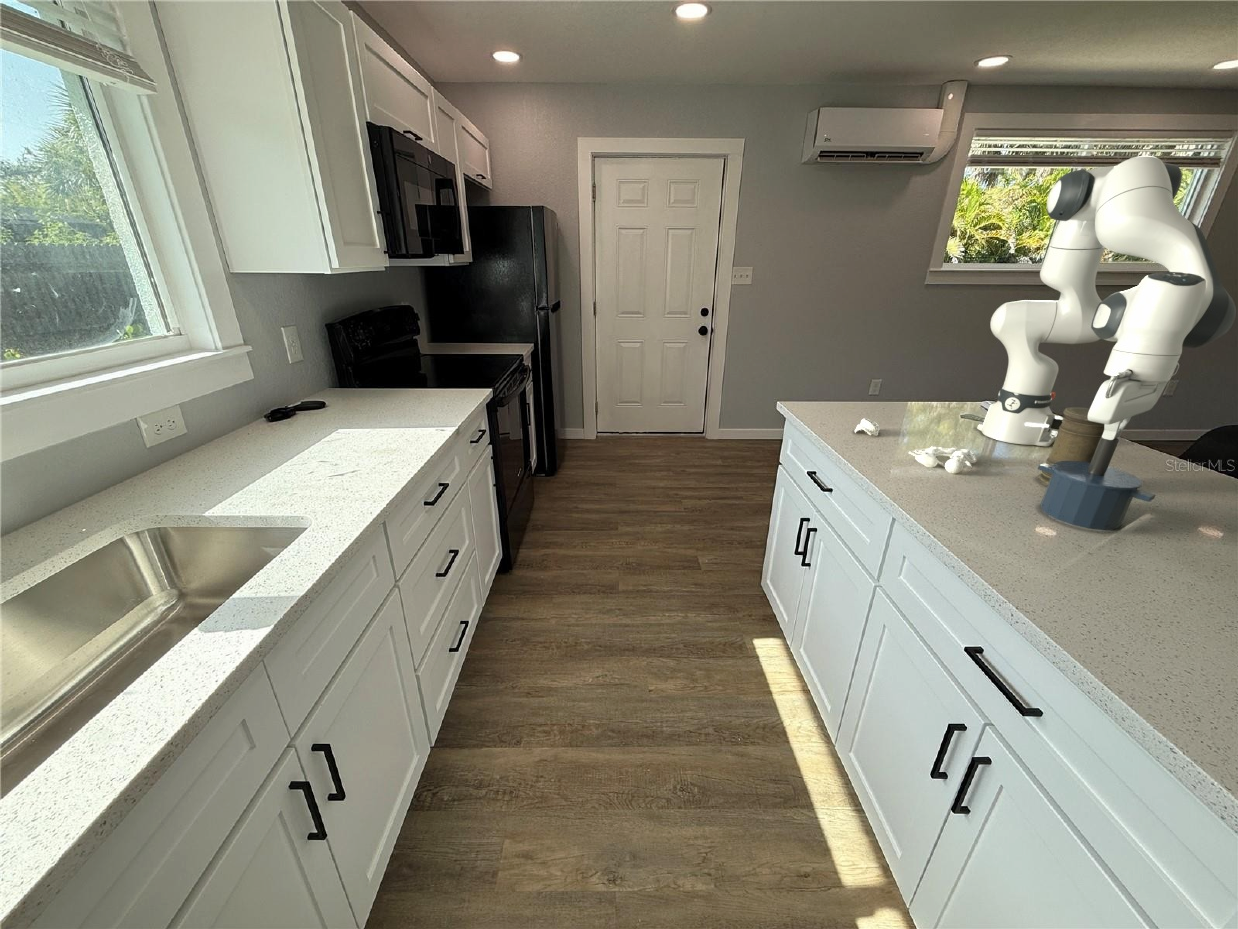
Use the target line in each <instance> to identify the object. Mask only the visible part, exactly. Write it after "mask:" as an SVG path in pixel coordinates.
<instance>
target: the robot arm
mask: <svg viewBox="0 0 1238 929" xmlns="http://www.w3.org/2000/svg"><path fill="white" fill-rule="evenodd" d="M1182 179H1183V173H1182V170H1181V168H1180V166H1178V165H1176V164H1173V163H1165V162H1163V161H1162V160H1161V158H1159V157H1156V156H1153V155H1141V156H1136V157H1131V158H1129V159H1126V160H1124V161H1121V162H1120V163H1118V164H1117V165H1112V166H1111V165H1110V166H1103V167H1097V168H1092V169H1083V168H1082V169H1076V170H1073V171H1070V172H1066V173H1064V174H1063V175H1062V176H1061V177H1059V178H1058V179H1057V180H1056V181H1055V183H1054V185H1053V186H1052V188H1051V190H1050V191H1049V192H1048V195H1047V200H1046V213H1047V215H1048V217H1049V218H1050V219H1051V220H1055V221H1059V222H1058V224H1057V226H1056V228H1055V231H1054V232H1053V235H1052V237H1051V240H1050V243H1049V246H1048V248H1047V251H1046V253H1045V257H1044V261H1043V262H1042V265H1041V268H1040V271H1039V278H1040V280H1041V281H1042V283H1043V284H1045V285H1046V286H1048V287H1050V288H1052V289H1054V290H1055V291H1058V292H1059V293H1060V295H1059V298H1058V300H1057V299H1056V300H1033V299H1032V300H1030V299H1029V300H1028V299H1024V300H1017V301H1010V302H1009V301H1008V302H1005V303H1003V304H1001V305H1000V306H999V307H998V308H996V310H995V311H994V312H993V314H992V316H991V318H990V326H989V327H990V330H991V333H992V335H993V336H994V337H995V338H996V339H998V340H999V341H1000V342H1001V343H1002V345H1003V346H1004V349H1005V351H1006V353H1007V356H1008V358H1007V359H1008V363H1007V364H1008V365H1007V370H1006V375H1005V379H1004V382H1003V385H1002V387H1000V389H999V391H998V395H997V398H996V399H997V401H995V402H993V403H991V404H990V405H989V407H988V410H987V413H986V415H985V418H984V421H983V423H982V424H978V425H977V426H976V429H977V430H978V431H980V432H981V433H982V434H983V435H984V436H986V437H988V438H990V439H993V440H997V441H1000V442H1004V443H1008V444H1009V443H1010V444H1016V445H1023V446H1024V445H1027V446H1039V447H1050V446H1052V444H1054V442H1055V439H1056V436H1057V434H1058V431H1059V429H1060V428H1059V427H1060V426H1061V424H1062V422H1063V416H1061V415H1055V414H1054V412H1053V411H1052V409H1051V408H1050V406H1051V405H1052V404H1051V402H1052V401H1053V400H1054V399H1055V397H1056V395H1057V394H1056V392H1053V388H1054V385H1055V383H1056V379H1057V376H1058V374H1059V365H1058V363H1057V362H1056V361H1055V360H1054V359H1053V358H1051V357H1049V356H1048V355H1046V354H1044V353H1042V352H1040V351H1039V345H1040V344H1042V343H1047V344H1061V345H1063V344H1064V345H1079V344H1088V343H1096V342H1097V341H1100V340H1105V341H1108V342H1114V343H1115V342H1116V343H1115V345H1113V347H1112V349H1111V352H1110V354H1109V357H1108V360H1107V362H1106V365H1105V368H1104V370H1103V374H1105V375H1106V376H1109V377H1110V378H1109V379H1107V380H1104V382H1102V383H1101V385H1100V386H1099V388H1098V390H1097V391H1096V394H1095V396H1094V398H1093V401H1092V402H1091V405H1090V407H1089V409H1090V410H1089V412H1088V420H1089V421H1093V422H1097V423H1102V424H1104V429H1105V430H1104V432H1103V435H1102V438H1104V439H1108V440H1113V439H1115V438H1117V439H1119V438H1120V437H1121V435H1122V433H1123V430H1124V429H1125V428H1126V427H1127V425H1128V424H1129V422H1130V421H1131V419H1132V417H1134V416H1137V415H1140V414H1143V413H1145V412H1149V411H1150V410H1152V409H1153V408H1154V406H1155V405H1156V404H1157V402H1158V401H1159V399H1160V397H1161V396H1162V394H1163V392H1164V390H1165V389H1166V386H1167V384H1168V382H1169V381H1170V380H1171V378H1172V377H1173V376H1175V375H1176V374H1177V373H1178V370H1179V368H1180V364H1179V360H1180V358H1181V355H1182V353H1183V348H1188V349H1189V348H1190V349H1197V348H1200V347H1202V346H1206V345H1207V344H1209V343H1212V342H1213V341H1215V340H1217V339H1219V338H1221V337H1222V336H1223V335H1225V334H1226V333H1227V332H1228V331H1229V330H1230V329H1231V328H1232V326H1233V324H1234V322H1235V319H1236V316H1237V308H1236V304H1235V302H1234V300H1233V298H1232V297H1231V295H1230V294H1229V292H1228V291H1227V290H1226V288H1224V285H1223V284H1222V283H1223V282H1222V281H1221V278H1220V275H1219V273H1218V270H1217V267H1216V264H1215V261H1214V259H1213V256H1212V253H1211V250H1210V247H1209V244H1208V242H1207V239H1206V237H1205V234H1204V232H1203V231H1202V229H1201V227H1199V226H1198V225H1197V224H1195V223H1194V222H1192V221H1190V220H1189V219H1187V218H1186V216H1184V215H1183V214H1182V212H1180V210H1179V209H1178V208H1177V206H1176V205H1175V203H1174V199H1175V198H1176V196H1177V194H1178V192H1179V190H1180V187H1181V185H1182ZM1106 249H1107V250H1109V251H1111V252H1114V253H1117V254H1121V255H1126V256H1130V257H1131V256H1132V257H1137V258H1141V259H1145V260H1149V261H1152V262H1155V263H1158V264H1159V265H1161V266H1163V267H1165V268H1166V269H1167V270H1168V271H1162V272H1161V271H1160V272H1154V273H1150V274H1148V275H1146V276H1144V277H1143V278H1142V280H1141V281H1140V282H1139V284H1138V285H1137V286H1134V287H1132V288H1130V289H1126V290H1123V291H1116V292H1114V293H1112V294H1110V295H1109V296H1107V297H1106V298H1104V299H1103V300H1102V299H1101V298H1100V296H1099V294H1098V292H1097V288H1096V278H1097V274H1098V271H1099V268H1100V264H1101V261H1102V259H1103V256H1104V252H1105V251H1106Z"/></svg>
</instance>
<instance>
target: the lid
mask: <svg viewBox="0 0 1238 929" xmlns="http://www.w3.org/2000/svg"><path fill="white" fill-rule="evenodd" d="M1119 442H1120V439H1119V438H1115V439H1113V440H1108V439H1104V438H1102V437H1101V438H1100V441H1099V443H1098V446H1097V448H1096V451H1095V453H1094V456H1093V458H1092V461H1091V463H1089V462H1081V461H1059V462H1055V463H1054V464H1053V465H1052V469H1053V470H1054V471H1055V472H1056V473H1058V474H1059V475H1061V476H1063V477H1065V478H1068V479H1071V480H1073V481H1076V482H1080V483H1083V484H1087V485H1091V486H1095V487H1101V488H1107V489H1115V490H1135V489H1138V490H1139V489H1140V488H1141V487H1142V486H1143V481H1142V480H1141V479H1140V478H1138V477H1137V476H1135V475H1134V474H1132V473H1129V472H1127V471H1124V470H1121V469H1118V468H1115V467H1112V466H1110V463H1111V461H1112V458H1113V456H1114V454H1115V452H1116V449H1117V447H1118V444H1119Z"/></svg>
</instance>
